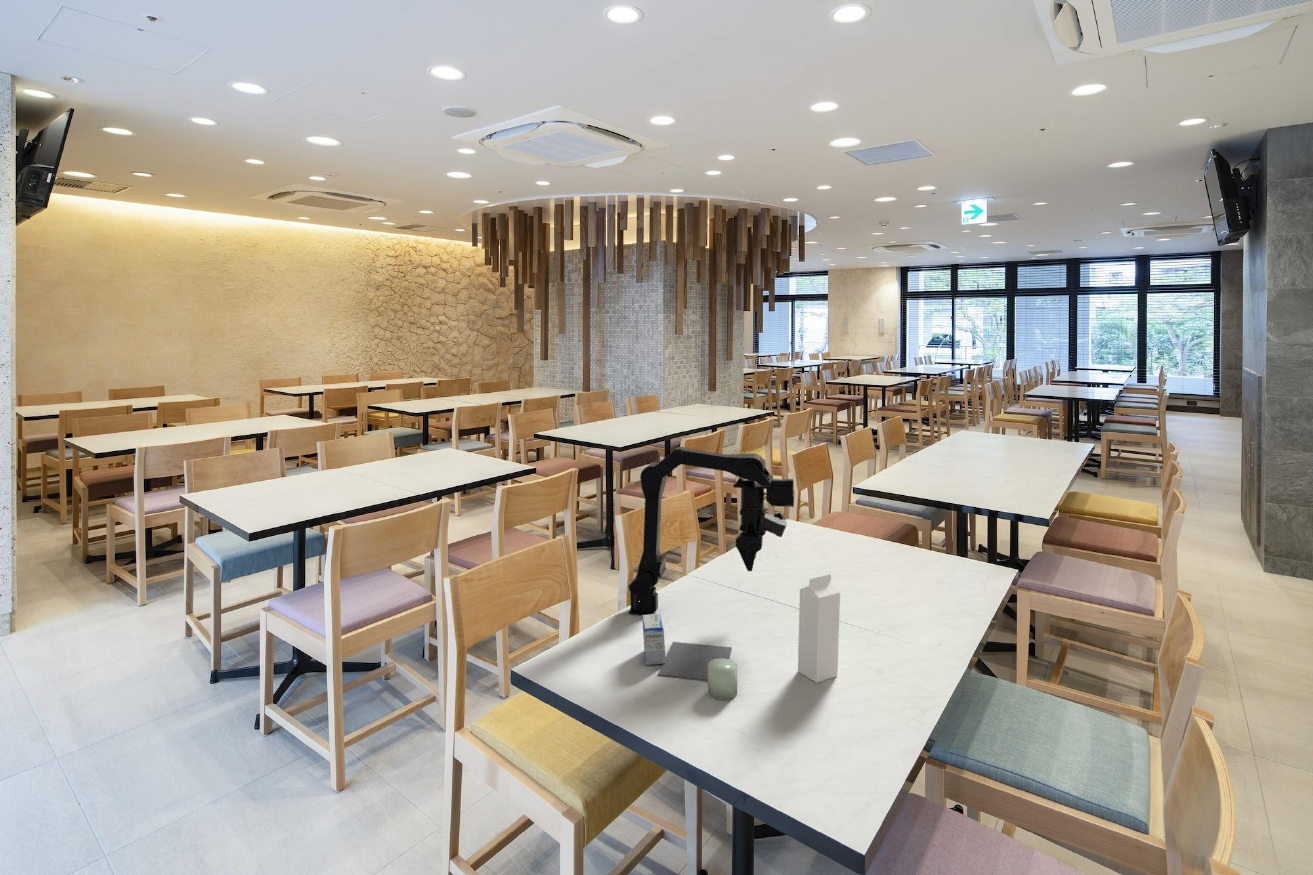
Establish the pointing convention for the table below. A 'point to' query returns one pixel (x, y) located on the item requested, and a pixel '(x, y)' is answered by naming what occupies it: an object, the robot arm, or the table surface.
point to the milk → (819, 629)
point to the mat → (691, 660)
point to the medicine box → (653, 639)
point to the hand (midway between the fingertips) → (751, 564)
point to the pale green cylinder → (722, 679)
